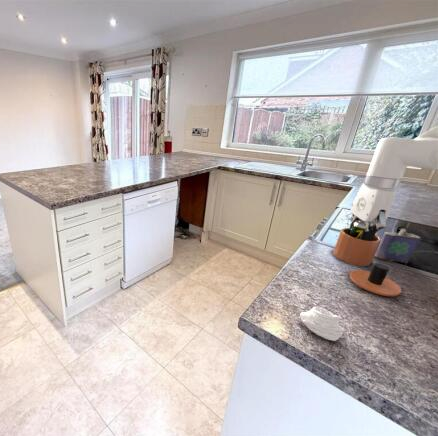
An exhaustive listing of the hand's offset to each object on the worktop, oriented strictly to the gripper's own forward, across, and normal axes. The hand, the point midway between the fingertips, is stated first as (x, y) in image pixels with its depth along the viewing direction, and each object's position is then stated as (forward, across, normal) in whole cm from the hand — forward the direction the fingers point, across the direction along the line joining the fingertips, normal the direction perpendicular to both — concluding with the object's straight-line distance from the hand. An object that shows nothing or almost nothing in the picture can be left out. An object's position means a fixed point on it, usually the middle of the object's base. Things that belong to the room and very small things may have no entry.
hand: (359, 237), depth 78 cm
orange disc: (+7, +15, -2) cm, 17 cm away
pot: (+7, 0, 0) cm, 7 cm away
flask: (+8, -2, +12) cm, 15 cm away
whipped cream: (+8, +35, -22) cm, 42 cm away
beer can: (+7, 0, 0) cm, 7 cm away
